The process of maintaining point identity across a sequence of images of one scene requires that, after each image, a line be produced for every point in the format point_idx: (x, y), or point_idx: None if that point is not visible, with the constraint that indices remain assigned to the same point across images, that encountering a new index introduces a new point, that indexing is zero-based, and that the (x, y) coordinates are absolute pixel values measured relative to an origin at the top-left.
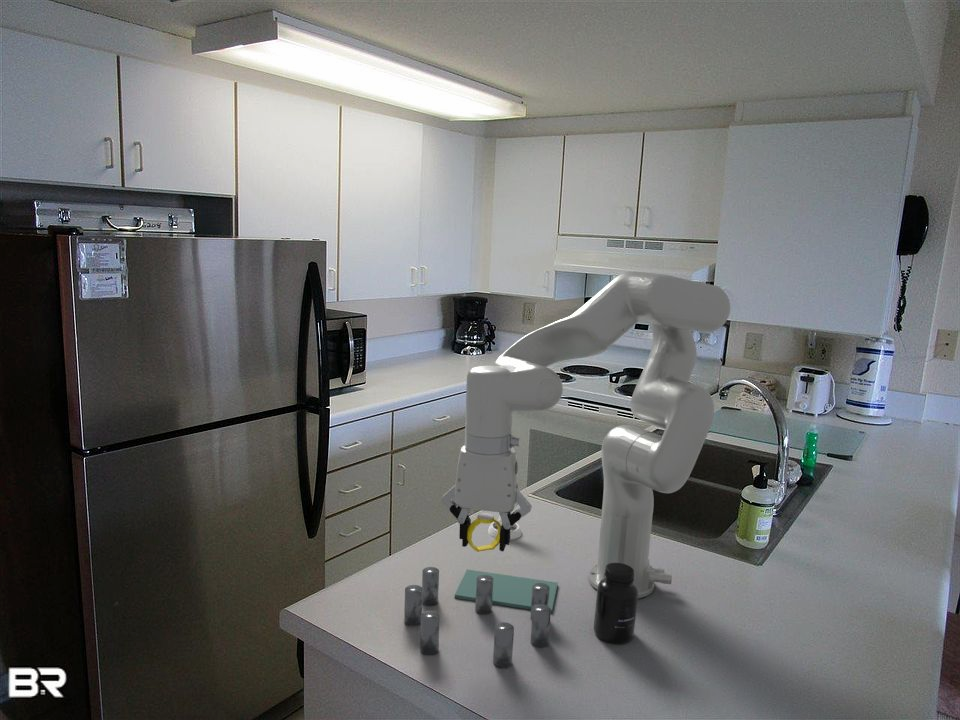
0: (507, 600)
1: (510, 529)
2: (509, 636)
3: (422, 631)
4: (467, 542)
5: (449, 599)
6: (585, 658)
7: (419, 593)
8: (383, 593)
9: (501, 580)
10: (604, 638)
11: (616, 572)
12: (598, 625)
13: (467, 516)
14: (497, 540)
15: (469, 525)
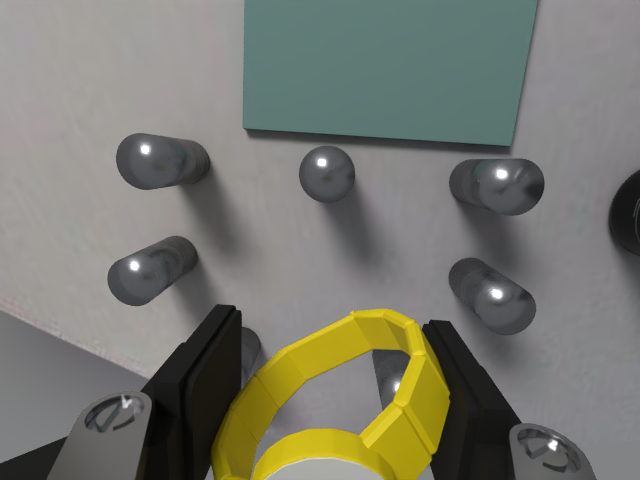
0: (388, 125)
1: (515, 414)
2: None
3: None
4: (237, 377)
5: (234, 139)
6: (566, 313)
7: (155, 296)
8: (65, 149)
9: (362, 7)
10: (631, 252)
11: None
12: (638, 244)
13: (156, 469)
14: (399, 342)
15: (207, 397)
